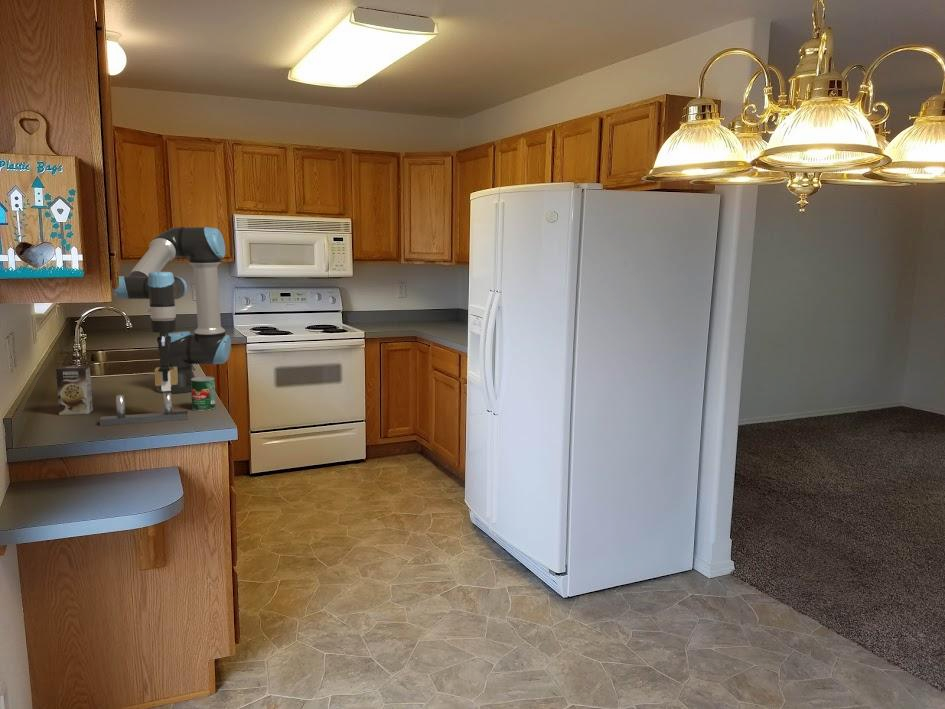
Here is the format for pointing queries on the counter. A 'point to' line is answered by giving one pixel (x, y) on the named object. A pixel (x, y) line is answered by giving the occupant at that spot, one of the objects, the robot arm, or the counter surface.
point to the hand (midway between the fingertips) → (166, 388)
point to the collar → (172, 376)
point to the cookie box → (74, 390)
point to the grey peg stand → (143, 418)
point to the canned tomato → (203, 393)
